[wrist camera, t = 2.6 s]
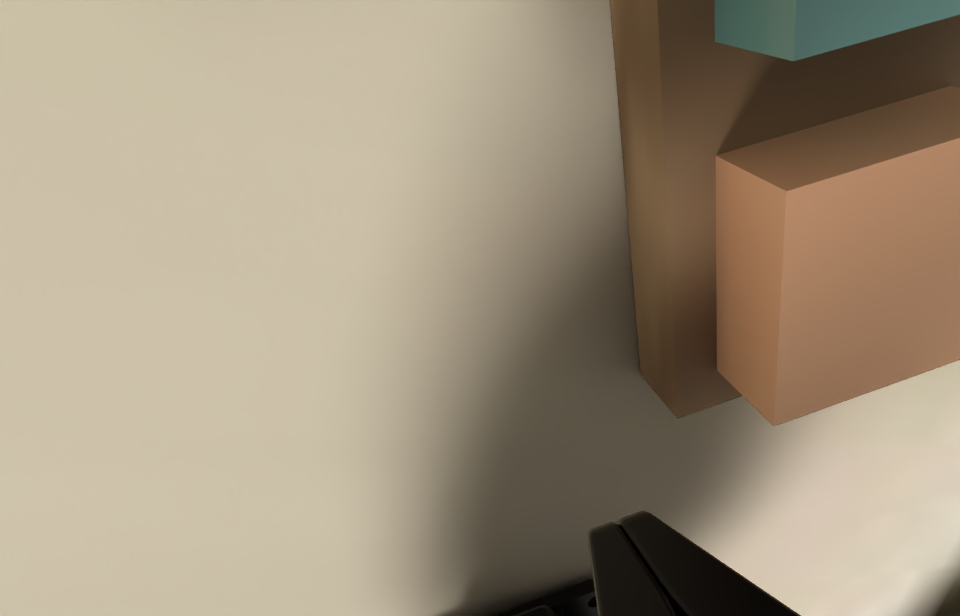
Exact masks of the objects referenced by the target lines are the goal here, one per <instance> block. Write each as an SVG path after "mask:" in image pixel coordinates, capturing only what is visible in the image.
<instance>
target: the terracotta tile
mask: <svg viewBox="0 0 960 616" xmlns="http://www.w3.org/2000/svg"><path fill="white" fill-rule="evenodd" d="M716 297H717V371H718V372H719V373H720V374H721V375H722V376H723V377H724V378H725V379H726V380H727V381H728V382H729V383H730V384H731V385H732V386H733V387H734V388H735V389H736V390H737V391H738V392H739V393H740V394H741V395H743V396H744V397H745V398H746V399H747V400H748V401H749V402H750V403H751V404H752V405H753V406H754V407H755V408H756V409H757V410H758V411H759V412H760V413H761V414H762V415H763V416H764V417H765V418H766V419H767V420H768V421H769V422H770V423H771V424H772V425H773V426H776V425H779V424H782V423H785V422H788V421H790V420H793V419H796V418H799V417H802V416H804V415H807V414H810V413H813V412H816V411H818V410H821V409H824V408H827V407H829V406H832V405H835V404H838V403H841V402H843V401H846V400H849V399H852V398H855V397H857V396H860V395H863V394H866V393H869V392H871V391H874V390H877V389H880V388H882V387H885V386H888V385H891V384H894V383H896V382H899V381H902V380H905V379H908V378H910V377H913V376H916V375H919V374H922V373H924V372H927V371H930V370H933V369H935V368H938V367H941V366H944V365H947V364H949V363H952V362H955V361H958V360H960V88H958V87H954V86H948V87H945V88H942V89H938V90H935V91H932V92H928V93H925V94H922V95H918V96H915V97H911V98H908V99H905V100H901V101H898V102H895V103H891V104H888V105H884V106H881V107H878V108H874V109H871V110H868V111H864V112H861V113H858V114H854V115H851V116H847V117H844V118H841V119H837V120H834V121H831V122H827V123H824V124H821V125H817V126H814V127H810V128H807V129H804V130H800V131H797V132H794V133H790V134H787V135H783V136H780V137H777V138H773V139H770V140H767V141H763V142H760V143H757V144H753V145H750V146H746V147H743V148H740V149H736V150H733V151H730V152H726V153H723V154H719V155H716Z"/></svg>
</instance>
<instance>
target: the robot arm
mask: <svg viewBox="0 0 960 616" xmlns="http://www.w3.org/2000/svg"><path fill="white" fill-rule="evenodd" d="M587 537H588V544H589V551H590V559H591V566H592V573H593V579H591V580H587V581H585V582H582V583H579V584H577V585H574V586H572V587H569V588H566V589H564V590H561V591H558V592H556V593H553V594H550V595H548V596H545V597H542V598H540V599H537V600H534V601H532V602H529V603H526V604H524V605H521V606H518V607H516V608H513V609H510V610H508V611H505V612H502V613H500V614H497V615H494V616H801V615H799V614H798V613H796V612H795V611H793V610H792V609H790V608H789V607H787V606H786V605H784V604H783V603H781V602H780V601H778V600H777V599H776V598H774V597H773V596H771V595H770V594H768V593H767V592H765V591H764V590H762V589H761V588H759V587H758V586H756V585H755V584H753V583H752V582H750V581H749V580H748V579H746V578H745V577H743V576H742V575H740V574H739V573H737V572H736V571H734V570H733V569H731V568H730V567H728V566H727V565H725V564H724V563H722V562H721V561H720V560H718V559H717V558H715V557H714V556H712V555H711V554H709V553H708V552H706V551H705V550H703V549H702V548H700V547H699V546H697V545H696V544H695V543H693V542H692V541H690V540H689V539H687V538H686V537H684V536H683V535H681V534H680V533H678V532H677V531H675V530H674V529H672V528H671V527H669V526H668V525H667V524H665V523H664V522H662V521H661V520H659V519H658V518H656V517H655V516H653V515H652V514H650V513H648V512H645V511H640V512H637V513H634V514H632V515H629V516H626V517H624V518H621V519H619V520H618V522H617V524H616V523H614V522H610V523H607V524H604V525H602V526H599V527H596V528H593V529H591V530H589V531H588V534H587Z"/></svg>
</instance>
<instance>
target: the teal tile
mask: <svg viewBox="0 0 960 616" xmlns="http://www.w3.org/2000/svg"><path fill="white" fill-rule="evenodd" d="M956 15H960V0H715V42H718V43H722V44H726V45H730V46H734V47H738V48H742V49H746V50H750V51H754V52H758V53H762V54H766V55H770V56H774V57H778V58H782V59H786V60H790V61H796V60H800V59H803V58H807V57H811V56H814V55H818V54H821V53H825V52H828V51H832V50H835V49H839V48H842V47H846V46H850V45H853V44H857V43H860V42H864V41H867V40H871V39H874V38H878V37H882V36H885V35H889V34H892V33H896V32H899V31H903V30H906V29H910V28H913V27H917V26H921V25H924V24H928V23H931V22H935V21H938V20H942V19H945V18H949V17H953V16H956Z"/></svg>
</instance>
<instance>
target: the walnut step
mask: <svg viewBox="0 0 960 616" xmlns="http://www.w3.org/2000/svg"><path fill="white" fill-rule="evenodd" d="M610 8H611V20H612V33H613V45H614V57H615V69H616V81H617V93H618V105H619V117H620V129H621V141H622V154H623V166H624V178H625V190H626V202H627V214H628V226H629V238H630V250H631V263H632V275H633V287H634V299H635V311H636V323H637V335H638V347H639V359H640V372H641V375H642V377H643V378H644V379H645V380H646V381H647V383H648V384H649V385H650V386H651V387H652V389H653V390H654V391H655V392H656V393H657V395H658V396H659V397H660V398H661V399H662V401H663V402H664V403H665V404H666V405H667V406H668V408H669V409H670V410H671V411H672V412H673V414H674V415H675V416H676V417H677V418H680V417H683V416H686V415H689V414H692V413H694V412H697V411H700V410H703V409H706V408H709V407H712V406H714V405H717V404H720V403H723V402H726V401H729V400H732V399H735V398H737V397H740V396H743V395H741V394H740V393H739V392H738V391H737V390H736V389H735V388H734V387H733V386H732V385H731V384H730V383H729V382H728V381H727V380H726V379H725V378H724V377H723V376H722V375H721V374H720V373H719V372H718V371H717V297H716V155H719V154H723V153H726V152H730V151H733V150H736V149H740V148H743V147H746V146H750V145H753V144H757V143H760V142H763V141H767V140H770V139H773V138H777V137H780V136H783V135H787V134H790V133H794V132H797V131H800V130H804V129H807V128H810V127H814V126H817V125H821V124H824V123H827V122H831V121H834V120H837V119H841V118H844V117H847V116H851V115H854V114H858V113H861V112H864V111H868V110H871V109H874V108H878V107H881V106H884V105H888V104H891V103H895V102H898V101H901V100H905V99H908V98H911V97H915V96H918V95H922V94H925V93H928V92H932V91H935V90H938V89H942V88H945V87H948V86H954V87H958V88H960V15H956V16H953V17H949V18H945V19H942V20H938V21H935V22H931V23H928V24H924V25H921V26H917V27H913V28H910V29H906V30H903V31H899V32H896V33H892V34H889V35H885V36H882V37H878V38H874V39H871V40H867V41H864V42H860V43H857V44H853V45H850V46H846V47H842V48H839V49H835V50H832V51H828V52H825V53H821V54H818V55H814V56H811V57H807V58H803V59H800V60H796V61H790V60H786V59H782V58H778V57H774V56H770V55H766V54H762V53H758V52H754V51H750V50H746V49H742V48H738V47H734V46H730V45H726V44H722V43H718V42H715V0H610Z"/></svg>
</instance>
